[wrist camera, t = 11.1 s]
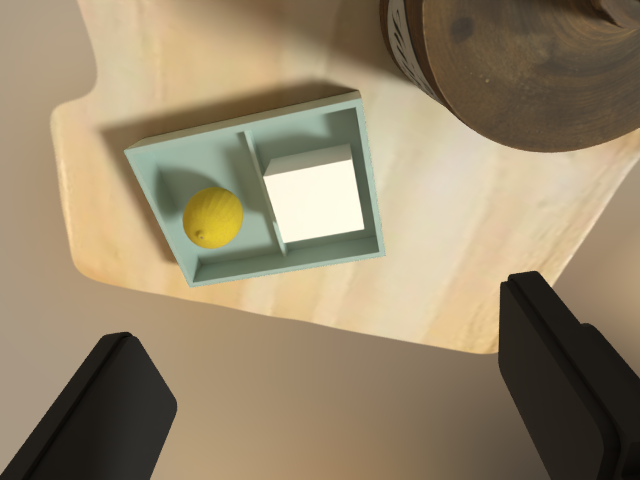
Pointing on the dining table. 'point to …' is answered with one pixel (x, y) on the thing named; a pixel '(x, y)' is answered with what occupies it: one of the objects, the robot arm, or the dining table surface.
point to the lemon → (212, 217)
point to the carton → (314, 193)
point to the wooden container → (524, 66)
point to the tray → (256, 187)
